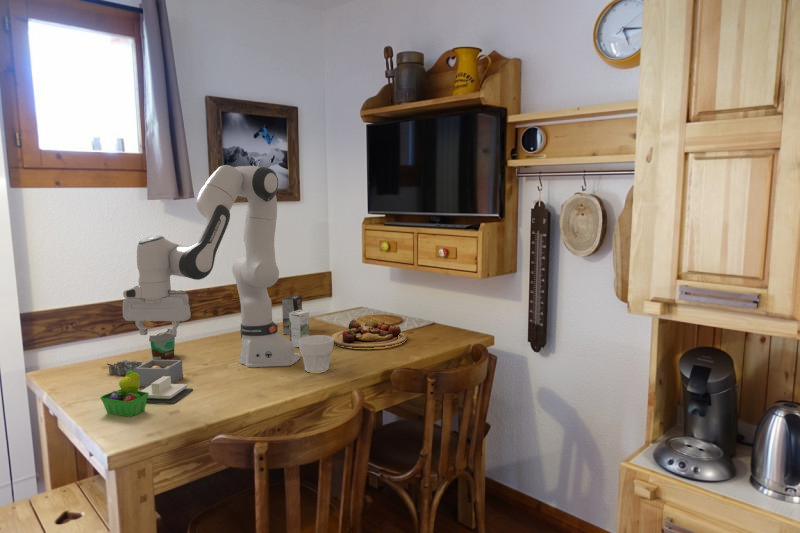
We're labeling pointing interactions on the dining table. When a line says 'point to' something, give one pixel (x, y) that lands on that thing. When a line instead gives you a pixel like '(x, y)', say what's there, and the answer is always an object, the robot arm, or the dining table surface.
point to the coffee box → (290, 310)
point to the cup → (316, 352)
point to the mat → (173, 399)
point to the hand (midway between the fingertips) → (158, 334)
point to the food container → (162, 346)
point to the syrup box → (298, 326)
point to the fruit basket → (126, 397)
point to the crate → (159, 371)
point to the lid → (163, 388)
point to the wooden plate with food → (369, 335)
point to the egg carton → (123, 367)
